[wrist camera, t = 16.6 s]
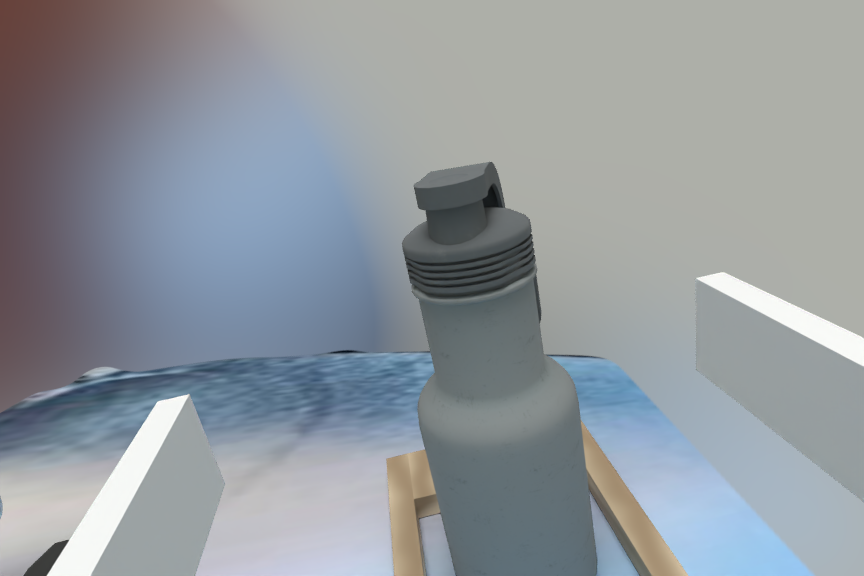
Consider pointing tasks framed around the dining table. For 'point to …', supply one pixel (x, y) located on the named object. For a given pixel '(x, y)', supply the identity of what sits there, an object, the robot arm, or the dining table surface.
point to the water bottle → (495, 389)
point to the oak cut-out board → (622, 511)
